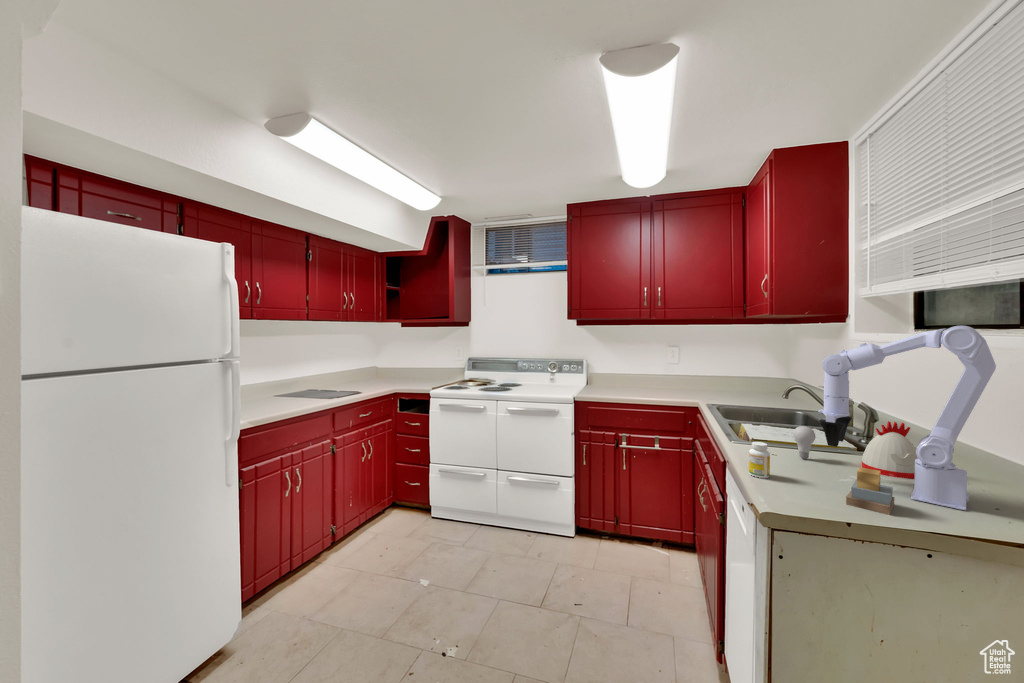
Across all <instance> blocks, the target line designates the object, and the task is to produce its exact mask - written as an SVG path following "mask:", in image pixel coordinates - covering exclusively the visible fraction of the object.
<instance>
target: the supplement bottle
mask: <svg viewBox="0 0 1024 683" xmlns="http://www.w3.org/2000/svg"><path fill="white" fill-rule="evenodd" d="M770 461H771V452H769V451H768V444H767V443H766V442H762V441H752V442H751V449H749V451H748V474H749V475H750V476H751V475H752V476H751V477H753V476H755V477H754V478H756V477H759V478H758V479H768V478H770V472H771V471H770V469H771V467H770V466H771V464H770V463H771V462H770Z"/></svg>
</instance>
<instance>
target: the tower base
mask: <svg viewBox="0 0 1024 683" xmlns="http://www.w3.org/2000/svg"><path fill="white" fill-rule="evenodd" d="M845 497H846V498H845V504H846V505H847V506H850V507H854V508H859V509H862V510H865V511H866V510H867V511H870V512H876V513H879V514H884V515H888V516H890V515H891V512H892V511H893V508H894V507H895V496H893V497H892V500H891V503H890V506H889V505H884V504H880V503H875V502H871V501H866V500H862V499H857V498H853V497H851V490H850V491H849V492H848V494H846V496H845Z"/></svg>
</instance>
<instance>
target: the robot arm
mask: <svg viewBox="0 0 1024 683" xmlns="http://www.w3.org/2000/svg"><path fill="white" fill-rule="evenodd" d="M942 346H943V347H944V348H945V349H946V350H948V351H949V352H950V353H952V354H954V355H955V356H957V359H958V360H960V363H961V364H962V365H963V366H964V370H963V372H962V373H961V376H960V378H959V379H958V381H957V383H956V385H955V387H954V388H953V391H952V392H951V394H950V396H949V398H948V400H947V401H946V404H945V405H944V407H943V409H942V411H941V413H940V415H939V417H938V418H937V420H936V422H935V424H934V425H933V427H932V429H931V430H930V432H929V434H927V435H925V436H923V437H922V438H921V439H920V440H919V444H918V446H917V447H916V455H917V457H918V459H915V479H914V483H913V484H914V488H913V490H912V493H911V496H910V499H911V500H914V501H920V502H925V503H928V504H929V503H930V504H933V505H938V506H942V507H948V508H951V509H957V510H962V511H967V502H969V500H970V497H969V496H970V495H969V493H968V492H967V491H968V487H967V486H968V470H967V469H961V468H958V467H956V466H957V465H956V464H955V463H953V457H954V455H953V454H954V451H955V448H954V445H955V444H956V442H957V439H958V437H959V435H960V433H961V432H962V429H963V428H964V426H965V425H966V422H967V420H968V419H969V417H970V415H971V413H972V412H973V410H974V409H975V406H976V404H977V403H978V401H979V399H980V397H981V395H982V394H983V392H984V391H985V388H986V387H987V385H988V383H989V382H990V380H991V378H992V376H993V374H994V372H995V371H996V368H997V364H996V362H995V359H994V357H993V354H992V352H991V348H989V345H988V342H987V340H986V338H984V337H983V336H982V334H981V333H980V332H978V331H977V330H976V329H975V328H973V327H971V326H969V325H955V326H951V327H949V328H939V329H933V330H928V331H924V332H921V333H920V332H919V333H916V334H914V335H910V336H908V337H904V338H901V339H899V340H895V341H892V342H888V343H885V344H883V345H878V344H875V343H872V342H871V343H866V342H864V343H860V344H859V346H858V347H855V348H852V349H851V348H850V349H847V350H844V349H843V350H840V351H839V353H838V354H837V353H833V354H830V355H828V356H827V357H825V358H824V359H823V360H822V363H821V366H822V369H823V371H824V379H823V409H822V408H821V409H818V413H821V414H823V416H825V419H820V420H819V424H820V425H821V428H822V429H823V432H824V436H825V440H826V445H827V447H828V446H829V447H834V448H838V446H839V442H844V440H845V437H846V432H847V429H848V427H849V424H850V423H851V422H852V420H853V417H852V416H850V415H851V414H850V380H849V373H850V372H849V371H850V370H851V371H857V370H861V369H865V368H869V367H872V366H876V365H880V364H882V363H883V362H884V360H885V358H886V357H888V356H889V357H890V356H893V355H898V354H901V353H904V352H909V351H913V350H916V349H917V350H918V349H920V348H932V349H933V348H934V349H940V348H942Z"/></svg>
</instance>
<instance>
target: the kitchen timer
mask: <svg viewBox="0 0 1024 683" xmlns="http://www.w3.org/2000/svg"><path fill="white" fill-rule="evenodd" d="M886 423H887V424H886V425H884V424H881V429H882V431H881V430H879V428H877V427H875V430H876V433H877V435H876V436H874V437H873V438H872V439H871V440H870V441H869V442H868V444H867V445H866V447H865V450H864V452H863V454H862V456H861V468H867V469H872V470H878V471H880V476H881V475H882V476H887V477H890V478H891V477H892V478H899V479H912V480H913V479H914V480H915V459H918V457H917V455H916V449H917V447H915V445H914V444H913V443H912V442H911V441H910V440H909V439H908V438H907V437H906V436H907V435H908V433H909V432H910V430H911V427H910V426H907V427H906V428H905V426H906V425H905V423H904V422H901V424H900V425H899V426H898V423H897V422H896V421H894V422H893V423H891V421H890V420H889V421H887V422H886ZM892 424H893V426H892Z"/></svg>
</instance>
